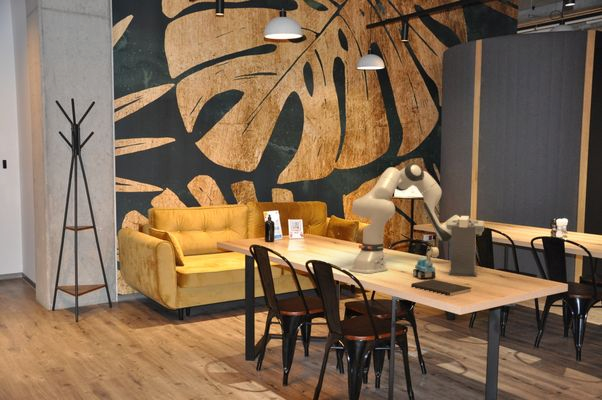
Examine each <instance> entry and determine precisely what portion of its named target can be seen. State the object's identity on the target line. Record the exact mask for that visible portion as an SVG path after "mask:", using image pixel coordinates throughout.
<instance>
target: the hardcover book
mask: <svg viewBox="0 0 602 400" xmlns="http://www.w3.org/2000/svg"><path fill="white" fill-rule="evenodd" d="M410 286H411V287H410V288H413V287H415V288H414V289H417V288H420V289H419V290H421V289H424V290H423V291H426V290H429V291H428V292H430V291H433V292H432V293H434V292H437V293H436V294H438V293H441V294H440V295H442V294H445V295H444V296H447V295H449V296H448V297H451V296H450V295H452V296H455V295H454V294H456V295H460V294H459V293H461V294H465V293H469V292H468V291H470V292H471V289H472V287H470V286H465V285H461V284H457V283H456V284H455V283H452V282H447V281H442V280H439V279H435V278H432V279H427V280H423V281H422V280H421V281H417V282H412V283H411V285H410ZM464 292H465V293H464Z"/></svg>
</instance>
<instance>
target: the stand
mask: <svg viewBox="0 0 602 400" xmlns="http://www.w3.org/2000/svg"><path fill="white" fill-rule="evenodd" d="M476 237H477V236H476V225H468V227H467V228H466V227H459V225H454V224H453V225H452V234H451V240H450V241H451V242H450V243H451V244H450V247H451V248H450V269H449V271H448V275H447V276H451V277H452V276H454V277H470V278H471V277H472V278H474V277H475V278H476V277H477V274H478V272H477V271H476V243H477V242H476V239H477V238H476Z"/></svg>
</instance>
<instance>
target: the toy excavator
mask: <svg viewBox="0 0 602 400" xmlns="http://www.w3.org/2000/svg"><path fill="white" fill-rule="evenodd" d="M439 255H440V251H439V248H438V247H436V246H435V247H434V246H433V247H432V246H431V247H430V250H428V251H427V252H426V257H423V258H421V257H420V258H418V259H417V262H416V265H415V267H414V269H413V270H412V275H413V277H416V278H418V279H419V280H423V279H424V278H427V279H428V278H430V279H436V267H435V266H434V263H433V262H432V258H438V257H439Z"/></svg>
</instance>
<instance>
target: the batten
mask: <svg viewBox="0 0 602 400" xmlns="http://www.w3.org/2000/svg"><path fill="white" fill-rule="evenodd" d="M469 218H470V216H469V215H462V216H461V218H460V219H459V227H466V228H467V227H468V224H469Z"/></svg>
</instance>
